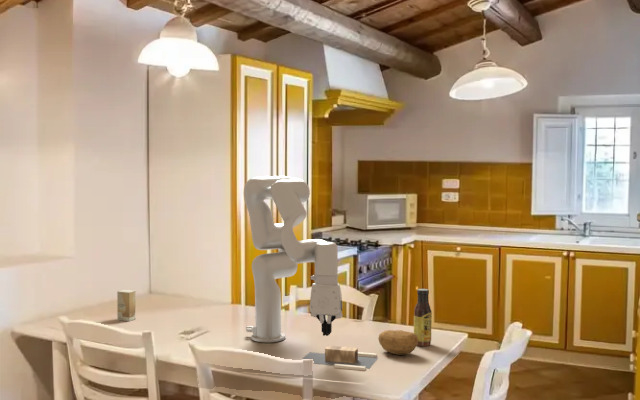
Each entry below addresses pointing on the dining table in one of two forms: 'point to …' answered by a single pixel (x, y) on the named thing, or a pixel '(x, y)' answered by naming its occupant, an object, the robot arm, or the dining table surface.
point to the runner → (358, 365)
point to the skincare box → (126, 305)
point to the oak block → (341, 354)
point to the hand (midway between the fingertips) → (326, 334)
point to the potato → (398, 341)
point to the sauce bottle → (423, 318)
